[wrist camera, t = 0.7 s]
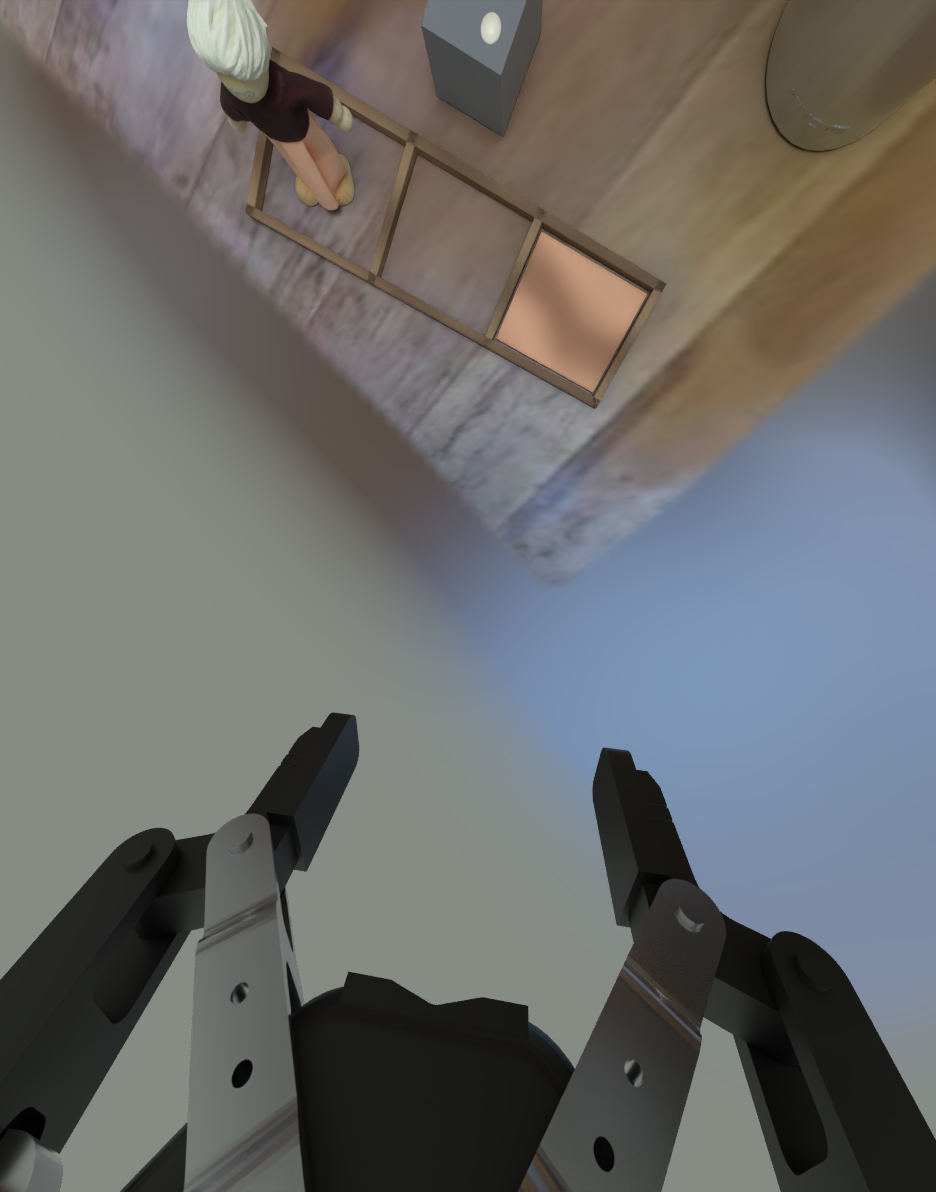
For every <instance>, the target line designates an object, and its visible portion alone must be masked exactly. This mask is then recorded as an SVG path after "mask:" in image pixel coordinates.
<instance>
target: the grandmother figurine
mask: <svg viewBox="0 0 936 1192" xmlns="http://www.w3.org/2000/svg"><path fill="white" fill-rule="evenodd" d="M187 27H188V32H189V37H190V41H191V44H192V46H193V48H194V50H195V52H196V53H197V55H198V57H199V58H200V60H201V61H202V62H203V63H204V64H205V65H206V66H207V67H208V68H210V69H211V70H213V71H214V72H217V74H218V76H219V78H220V79H221V81H222V82H221V94H220V102H221V106H222V108H223V110H224V112H225V113H226V115H227V117H228V120H229V122H230V124H231V126H232V127H233V128H234V129H235V130H236V131H238V132H244V131H245V130H246V127H247V121H251V122H252V123H253V124H254V125H255V126H256V127H257V128H258V129H259V130H261V131H262V132H263V133H265V135H266V136H267V137H268V139H269V140H270V141H271V142H272V143H273V144H274V146H275V147H276V148H277V149H278V151H279V152H280V153H281V155H282V156H283V158H284V159H285V160H286V162H287V163H288V165H289V166H290V168H291V169H292V170H293V172H294V173H295V174H296V175H297V177H296V181H295V189H296V193H297V196H298V198H299V199H300V201H301V202H302V203H304V204H305V205H308V206H315V205H316V204H318V202H319V203H320V204H321V205H322V206H323V207H324V208H325V209H327V210H335V209H337V208H338V206H339V205H348V204H349V203H350V202H351V201H352V200H353V198H354V194H355V188H354V183H353V178H352V174H351V169H350V165H349V162H348V160H347V158H346V157H345V156H343V155H341V154H338V152H337V150H336V148H335V146H334V144H333V143H332V141H331V140H330V139H329V137H328V136H327V134H326V133H325V132H324V131H323V130H322V128H321V127H320V126H319V125H318V123H317V122H316V120H315V119H314V117H313V116H312V114H311V112H313V113H314V114H316V115H318V116H319V117H322V118H324V119H326V120H329V121H330V122H332V123H333V124H336V125H337V126H338V128H339V129H340V130H341V131H342V132H344V133H349V132H351V130H352V127H353V117H352V114H351V112H350V110H349V109H348V108H346V107H345V106H342V105H341V103H340V101H339V100H338V99H337V98H336V97H335V96H334V95H333V93H332V89H331V88H330V87H329V86H327V85H326V84H323V83H321V82H318V81H316V80H313V79H310V78H308V77H306V76H304V75H301V74H298V73H295V72H288V71H286V70H284V69H283V68H281V67H280V66H279V65H278V64H277V63H276V62H274V61H273V60H270V48H269V43H268V39H267V35H266V27H267V24H266V23H265V22H264V20H263V19H262V18H261V16H260V15H259V14H258V12H257V10H256V8H255V6H254V4H253V3H252V1H251V0H189V3H188V11H187ZM310 111H311V112H310Z"/></svg>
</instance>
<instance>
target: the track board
mask: <svg viewBox="0 0 936 1192" xmlns="http://www.w3.org/2000/svg"><path fill="white" fill-rule="evenodd" d="M270 60H273V61H274V62H276V63H277V64H278V65H279V66H280V67H281V68H283V69H284V70H286V71H288V72H295V73H298V74H301V75H304V76H306V77H308V78H310V79H313V80H316V81H318V82H321V83H323V84H326V85H327V86H329V87H330V88H331V89H332V93H333V95H334V96H335V97H336V98H337V99H338V100H339V101H340V103H341V105H342V106H345V107H346V108H348V109H349V110H350V112H351V114H352V115H354V116H355V117H357V118H359V119H360V120H362V121H364V122H365V123H367V124H369V125H370V126H372V127H374V128H375V129H377V130H379V131H380V132H382V133H384V134H385V135H387V136H389V137H390V138H392V139H394V140H396V141H397V142H399V143H401V144H402V145H404V146H405V149H404V153H403V156H402V160H401V163H400V167H399V170H398V174H397V177H396V181H395V184H394V188H393V191H392V195H391V198H390V202H389V205H388V209H387V212H386V216H385V219H384V223H383V227H382V230H381V234H380V237H379V241H378V244H377V248H376V251H375V255H374V258H373V262H372V265H371V269H370V272H369V271H368V270H366V269H364V268H362V267H360V266H359V265H357V264H355V263H353V262H352V261H350V260H348V259H346V258H344V257H343V256H341V255H339V254H337V253H335V252H334V251H332V250H330V249H328V248H326V247H325V246H323V245H321V244H319V243H318V242H316V241H314V240H312V239H310V238H309V237H307V236H305V235H303V234H301V233H300V232H298V231H296V230H294V229H292V228H291V227H289V226H287V225H285V224H284V223H282V222H280V221H278V220H276V219H275V218H273V217H271V216H269V215H267V214H266V213H264V212H262V205H263V199H264V194H265V188H266V182H267V176H268V171H269V165H270V159H271V154H272V148H273V143H272V142H271V141H270V140H269V139H268V137H267V136H266V135H265V133H263V132H262V131H261V130H259V133H258V139H257V145H256V151H255V157H254V164H253V170H252V176H251V182H250V189H249V195H248V201H247V207H246V214H248V215H249V216H250V217H251V218H253V219H254V220H256V221H258V222H260V223H262V224H263V225H265V226H267V227H269V228H271V229H272V230H274V231H276V232H278V233H280V234H281V235H283V236H285V237H287V238H289V239H290V240H292V241H294V242H296V243H298V244H299V245H301V246H303V247H305V248H307V249H308V250H310V251H312V252H314V253H316V254H317V255H319V256H321V257H323V258H325V259H326V260H328V261H330V262H332V263H334V264H335V265H337V266H339V267H341V268H343V269H344V270H346V271H348V272H350V273H352V274H353V275H355V276H357V277H359V278H361V279H362V280H364V281H366V282H368V283H370V284H371V285H373V286H375V287H377V288H379V289H380V290H382V291H384V292H386V293H388V294H389V295H391V296H393V297H395V298H397V299H398V300H400V301H402V302H404V303H406V304H407V305H409V306H411V307H413V308H415V309H416V310H418V311H420V312H422V313H424V314H425V315H427V316H429V317H431V318H433V319H434V320H436V321H438V322H440V323H442V324H443V325H445V326H447V327H449V328H451V329H452V330H454V331H456V332H458V333H460V334H461V335H463V336H465V337H467V338H469V339H470V340H472V341H474V342H476V343H478V344H479V345H481V346H483V347H485V348H487V349H488V350H490V351H492V352H494V353H496V354H497V355H499V356H501V357H503V358H505V359H506V360H508V361H510V362H512V363H514V364H515V365H517V366H519V367H521V368H523V369H524V370H526V371H528V372H530V373H532V374H533V375H535V376H537V377H539V378H541V379H542V380H544V381H546V382H548V383H550V384H551V385H553V386H555V387H557V388H559V389H560V390H562V391H564V392H566V393H568V394H569V395H571V396H573V397H575V398H577V399H578V400H580V401H582V402H584V403H586V404H587V405H589V406H591V407H593V408H596V407H597V405H598V404H599V402H600V400H601V398H602V397H603V395H604V393H605V391H606V390H607V388H608V386H609V384H610V383H611V381H612V379H613V377H614V375H615V374H616V372H617V370H618V368H619V367H620V365H621V363H622V361H623V360H624V358H625V356H626V354H627V353H628V351H629V349H630V347H631V346H632V344H633V342H634V340H635V338H636V337H637V335H638V333H639V331H640V330H641V328H642V326H643V324H644V323H645V321H646V319H647V317H648V316H649V314H650V312H651V310H652V308H653V307H654V305H655V303H656V301H657V300H658V298H659V296H660V294H661V293H662V291H663V289H664V287H665V286H666V283H664V282H663V281H661V280H659V279H658V278H656V277H654V276H653V275H651V274H649V273H648V272H646V271H644V270H643V269H641V268H639V267H638V266H636V265H634V264H633V263H631V262H629V261H628V260H626V259H624V258H623V257H621V256H619V255H618V254H616V253H614V252H613V251H611V250H609V249H608V248H606V247H604V246H603V245H601V244H599V243H598V242H596V241H594V240H593V239H591V238H589V237H588V236H586V235H584V234H583V233H581V232H579V231H578V230H576V229H574V228H573V227H571V226H569V225H568V224H566V223H564V222H563V221H561V220H559V219H558V218H556V217H554V216H553V215H551V214H549V213H548V212H546V211H544V210H543V209H541V208H539V207H538V206H536V205H534V204H533V203H531V202H529V201H528V200H526V199H524V198H523V197H521V196H519V195H518V194H516V193H514V192H513V191H511V190H509V189H508V188H506V187H504V186H503V185H501V184H499V183H498V182H496V181H494V180H493V179H491V178H489V177H488V176H486V175H484V174H483V173H481V172H479V171H478V170H476V169H474V168H473V167H471V166H469V165H468V164H466V163H464V162H463V161H461V160H459V159H458V158H456V157H454V156H453V155H451V154H449V153H448V152H446V151H444V150H443V149H441V148H439V147H438V146H436V145H434V144H433V143H431V142H429V141H428V140H426V139H424V138H423V137H421V136H419V135H418V134H416V133H414V132H413V131H411V130H409V129H408V128H406V127H404V126H403V125H401V124H400V123H398V122H396V121H395V120H393V119H391V118H390V117H388V116H386V115H385V114H383V113H381V112H380V111H378V110H376V109H375V108H373V107H371V106H370V105H368V104H366V103H365V102H363V101H361V100H360V99H358V98H356V97H355V96H353V95H351V94H350V93H348V92H346V91H345V90H343V89H341V88H340V87H338V86H336V85H335V84H333V83H331V82H330V81H328V80H326V79H325V78H323V77H321V76H320V75H318V74H316V73H315V72H313V71H311V70H310V69H308V68H306V67H305V66H303V65H301V64H300V63H298V62H296V61H295V60H293V59H291V58H290V57H288V56H286V55H285V54H283V53H281V52H280V51H278V50H276V49H275V48H273V47H272V52H271V58H270ZM417 154H419V155H421V156H422V157H424V158H426V159H427V160H429V161H431V162H432V163H434V164H436V165H437V166H439V167H441V168H443V169H444V170H446V171H448V172H449V173H451V174H453V175H454V176H456V177H458V178H459V179H461V180H463V181H464V182H466V183H468V184H469V185H471V186H473V187H474V188H476V189H478V190H479V191H481V192H483V193H485V194H486V195H488V196H490V197H491V198H493V199H495V200H496V201H498V202H500V203H501V204H503V205H505V206H506V207H508V208H510V209H511V210H513V211H515V212H516V213H518V214H520V215H521V216H523V217H525V218H527V219H528V220H530V221H532V225H531V227H530V230H529V232H528V234H527V237H526V239H525V242H524V244H523V246H522V249H521V251H520V254H519V256H518V258H517V261H516V263H515V266H514V268H513V270H512V273H511V275H510V278H509V280H508V282H507V285H506V287H505V289H504V292H503V294H502V297H501V299H500V301H499V304H498V306H497V309H496V311H495V313H494V316H493V318H492V321H491V323H490V325H489V328H488V330H487V333H486V335H485V336H484V335H482V334H480V333H479V332H477V331H475V330H473V329H471V328H470V327H468V326H466V325H464V324H463V323H461V322H459V321H457V320H455V319H454V318H452V317H450V316H448V315H446V314H445V313H443V312H441V311H439V310H437V309H436V308H434V307H432V306H430V305H429V304H427V303H425V302H423V301H421V300H420V299H418V298H416V297H414V296H412V295H411V294H409V293H407V292H405V291H403V290H402V289H400V288H398V287H396V286H394V285H393V284H391V283H389V282H387V281H386V280H384V279H382V278H381V274H382V271H383V268H384V264H385V261H386V258H387V254H388V251H389V247H390V244H391V241H392V237H393V234H394V231H395V227H396V224H397V220H398V217H399V214H400V210H401V207H402V204H403V200H404V197H405V194H406V190H407V187H408V183H409V180H410V177H411V173H412V170H413V167H414V163H415V160H416V156H417ZM541 227H542V228H543V229H545V230H547V231H548V232H550V233H552V234H553V235H555V236H557V237H558V238H560V239H562V240H563V241H565V242H567V243H569V244H570V245H572V246H574V247H575V248H577V249H579V250H580V251H582V252H584V253H585V254H587V255H589V256H590V257H592V258H594V259H595V260H597V261H599V262H600V263H602V264H604V265H605V266H607V267H609V268H610V269H612V270H614V271H616V272H617V273H619V274H621V275H622V276H624V277H626V278H627V279H629V280H631V281H632V282H634V283H636V284H637V285H639V286H641V287H642V288H644V289H646V290H647V291H649V292H651V293H650V295H649V296H648V298H647V300H646V302H645V304H644V305H643V307H642V309H641V311H640V313H639V314H638V316H637V318H636V320H635V322H634V323H633V325H632V327H631V329H630V331H629V332H628V334H627V336H626V338H625V340H624V341H623V343H622V345H621V347H620V349H619V350H618V352H617V354H616V356H615V357H614V359H613V361H612V363H611V365H610V366H609V368H608V370H607V372H606V374H605V375H604V377H603V379H602V381H601V383H600V384H599V386H598V388H597V390H596V392H595V393H594V395H593V396H591V395H590V394H588V393H586V392H584V391H582V390H581V389H579V388H577V387H575V386H574V385H572V384H570V383H568V382H566V381H565V380H563V379H561V378H559V377H557V376H556V375H554V374H552V373H550V372H548V371H547V370H545V369H543V368H541V367H539V366H538V365H536V364H534V363H532V362H531V361H529V360H527V359H525V358H523V357H522V356H520V355H518V354H516V353H514V352H513V351H511V350H509V349H507V348H505V347H504V346H502V345H500V344H498V343H497V342H495V341H493V339H494V337H495V334H496V332H497V330H498V327H499V325H500V323H501V320H502V318H503V316H504V313H505V311H506V309H507V306H508V304H509V302H510V299H511V297H512V295H513V292H514V290H515V287H516V285H517V283H518V280H519V278H520V276H521V273H522V271H523V269H524V266H525V264H526V262H527V259H528V257H529V255H530V252H531V250H532V248H533V245H534V243H535V241H536V238H537V236H538V234H539V231H540V229H541ZM646 296H647V294H646V293H644V292H643V291H641V290H639V289H637V288H636V287H634V286H632V285H631V284H629V283H627V282H626V281H624V280H622V279H621V278H619V277H617V276H616V275H614V274H612V273H611V272H609V271H607V270H605V269H604V268H602V267H600V266H599V265H597V264H595V263H594V262H592V261H590V260H589V259H587V258H585V257H584V256H582V255H580V254H579V253H577V252H575V251H574V250H572V249H570V248H568V247H567V246H565V245H563V244H562V243H560V242H558V241H557V240H555V239H553V238H552V237H550V236H548V235H547V234H545V233H543V232H541V235H540V237H539V239H538V242H537V244H536V246H535V249H534V251H533V253H532V256H531V258H530V260H529V263H528V265H527V267H526V270H525V272H524V274H523V277H522V279H521V281H520V284H519V286H518V288H517V291H516V293H515V295H514V298H513V300H512V302H511V305H510V307H509V309H508V312H507V314H506V316H505V319H504V321H503V323H502V326H501V328H500V330H499V333H498V335H497V337H496V339H497V340H499V341H500V342H502V343H504V344H506V345H507V346H509V347H511V348H513V349H515V350H516V351H518V352H520V353H522V354H524V355H525V356H527V357H529V358H531V359H533V360H534V361H536V362H538V363H540V364H541V365H543V366H545V367H547V368H549V369H550V370H552V371H554V372H556V373H558V374H559V375H561V376H563V377H565V378H566V379H568V380H570V381H572V382H574V383H575V384H577V385H579V386H581V387H583V388H584V389H586V390H588V391H590V392H591V393H593V391H594V389H595V388H596V386H597V384H598V382H599V380H600V379H601V377H602V375H603V373H604V371H605V370H606V368H607V366H608V364H609V362H610V361H611V359H612V357H613V355H614V353H615V352H616V350H617V348H618V346H619V344H620V343H621V341H622V339H623V337H624V335H625V334H626V332H627V330H628V328H629V326H630V325H631V323H632V321H633V319H634V317H635V315H636V314H637V312H638V310H639V308H640V306H641V305H642V303H643V301H644V299H645V297H646Z"/></svg>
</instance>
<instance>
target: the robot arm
mask: <svg viewBox="0 0 936 1192" xmlns="http://www.w3.org/2000/svg"><path fill="white" fill-rule="evenodd" d="M935 78H936V0H789V2H788V4H787V6H786V7H785V9H784V11H783V13H782V16H781V19H780V21H779V24H778V26H777V29H776V31H775V34H774V37H773V41H772V45H771V49H770V53H769V58H768V65H767V76H766V88H767V101H768V105H769V109H770V112H771V115H772V119H773V121H774V122H775V124H776V126H777V128H778V129H779V131H780V133H781V134H782V135H783V136H784V137H785V138H787V139H788V140H789V141H790V142H791V143H792V144H794V145H796V146H799V147H801V148H803V149H806V150H815V151H825V150H831V149H837V148H840V147H842V146H845V145H847V144H850V143H852V142H855V141H856V140H858V139H859V138H861V137H862V136H864V135H866V134H867V133H869V132H870V131H872V130H873V129H874V128H876V127H877V126H878V125H879V124H881V123H882V122H883V121H884V120H885V119H887V118H888V117H889V116H890V115H891V114H893V113H894V112H895V111H896V110H897V109H899V108H900V107H901V106H902V105H903V104H905V103H906V102H907V101H908V100H910V99H911V98H912V97H913V96H914V95H916V94H917V93H918V92H919V91H920V90H922V89H923V88H924V87H925V86H926V85H928V84H929V83H930V82H931V81H933V80H934V79H935ZM358 757H359V742H358V732H357V724H356V717H355V716H354V715H349V714H341V713H331V714H330V715H329V716H328V717H327V719H326V720H325V722H324V723H323V725H322V727H321V728H318V727H312V728H310V729H309V730H308V731H307V732H305V733H304V734H303V735H301V736H300V737H299V738H298V739H297V741H296V742H295V743H294V745H293V746H292V748H291V749H290V751H289V754H288V755H286V756H285V758H284V759H283V761H282V762H281V765H280V766H279V767H278V768H277V769H276V771H275V772H274V774H273V775H272V777H271V778H270V780H269V781H268V782H267V784H266V785H265V787H264V788H263V790H262V791H261V793H260V794H259V795H258V797H257V798H256V800H255V801H254V803H253V804H252V806H251V807H250V808H249V810H248V811H247V812H246V813H245V814H244V815H241V816H238V817H236V818H234V819H232V820H230V821H229V822H227V823H226V824H224V825H223V826H222V827H221V828H220V829H219V830H218V831H217V832H216V833H213V834H209V835H203V836H197V837H192V838H186V839H180V840H175V838H174V836H173V834H172V832H171V831H169V830H167V829H164V828H153V829H149V830H145V831H143V832H140V833H138V834H136V835H134V836H132V837H131V838H129V839H127V840H126V841H125V842H123V843H122V844H121V845H120V846H118V847H117V848H116V849H115V850H114V851H113V852H112V853H111V854H110V856H109V857H108V858H107V859H106V860H105V861H104V862H103V863H102V865H101V866H100V867H99V868H98V869H97V870H96V872H95V873H94V874H93V875H92V876H91V877H90V878H89V880H88V881H87V882H86V883H85V884H84V885H83V886H82V888H81V889H80V890H79V891H78V892H77V893H76V894H75V895H74V897H73V898H72V899H71V900H70V901H69V902H68V903H67V905H66V906H65V907H64V908H63V909H62V910H61V911H60V913H59V914H58V915H57V916H56V917H55V918H54V919H53V921H52V922H51V923H50V924H49V925H48V926H47V928H46V929H45V930H44V931H43V932H42V933H41V934H40V935H39V937H38V938H37V939H36V940H35V941H34V942H33V943H32V945H31V946H30V947H29V948H28V949H27V950H26V952H25V953H24V954H23V955H22V956H21V957H20V958H19V959H18V960H17V962H16V963H15V964H14V965H13V966H12V967H11V969H10V970H9V971H8V972H7V973H6V974H5V975H4V976H3V978H2V979H1V980H0V1192H59V1191H60V1188H61V1183H62V1176H63V1166H62V1161H61V1158H60V1156H59V1154H60V1152H61V1150H62V1149H63V1147H64V1145H65V1143H66V1142H67V1140H68V1138H69V1137H70V1135H71V1133H72V1132H73V1130H74V1128H75V1127H76V1125H77V1123H78V1121H79V1120H80V1118H81V1116H82V1115H83V1113H84V1111H85V1110H86V1108H87V1106H88V1104H89V1103H90V1101H91V1100H92V1098H93V1096H94V1094H95V1093H96V1091H97V1089H98V1088H99V1086H100V1084H101V1082H102V1081H103V1079H104V1077H105V1076H106V1074H107V1072H108V1071H109V1069H110V1067H111V1066H112V1064H113V1062H114V1060H115V1059H116V1057H117V1055H118V1054H119V1052H120V1050H121V1049H122V1047H123V1045H124V1044H125V1042H126V1040H127V1038H128V1037H129V1035H130V1033H131V1032H132V1030H133V1028H134V1026H135V1025H136V1023H137V1021H138V1020H139V1018H140V1016H141V1015H142V1013H143V1011H144V1010H145V1008H146V1006H147V1004H148V1003H149V1001H150V999H151V998H152V996H153V994H154V993H155V991H156V989H157V987H158V986H159V984H160V982H161V981H162V979H163V977H164V976H165V974H166V972H167V971H168V969H169V967H170V966H171V964H172V962H173V960H174V959H175V957H176V955H177V954H178V952H179V950H180V949H181V947H182V945H183V943H184V942H185V940H186V938H187V937H188V935H189V933H190V932H191V930H195V929H199V928H204V935H203V939H201V940H199V942H198V944H197V947H196V954H195V970H194V992H193V1016H192V1037H191V1059H190V1080H189V1102H188V1122H187V1123H186V1124H185V1125H184V1126H183V1127H182V1128H181V1129H180V1130H179V1131H178V1132H177V1133H176V1134H175V1135H174V1136H173V1137H172V1138H171V1139H170V1140H169V1142H168V1143H166V1145H164V1147H163V1148H162V1149H161V1150H160V1151H159V1152H158V1153H157V1154H156V1155H155V1156H154V1157H153V1158H152V1159H151V1160H150V1161H149V1162H148V1163H147V1164H146V1165H145V1166H144V1167H143V1168H142V1169H141V1170H140V1171H139V1173H138V1174H136V1175H135V1177H134V1178H133V1179H132V1180H131V1181H130V1182H129V1183H128V1184H127V1185H126V1186H125V1187H124V1188H123V1189H122V1190H121V1191H120V1192H661V1190H662V1187H663V1184H664V1180H665V1176H666V1173H667V1169H668V1165H669V1162H670V1158H671V1155H672V1151H673V1147H674V1144H675V1140H676V1136H677V1132H678V1129H679V1126H680V1122H681V1118H682V1114H683V1111H684V1107H685V1104H686V1100H687V1097H688V1093H689V1089H690V1086H691V1082H692V1078H693V1074H694V1071H695V1067H696V1064H697V1060H698V1056H699V1053H700V1048H701V1042H702V1036H701V1034H700V1027H701V1023H702V1020H703V1017H704V1018H706V1019H708V1020H710V1021H711V1022H713V1023H715V1024H716V1025H718V1026H720V1027H721V1028H723V1029H725V1030H727V1031H728V1032H730V1033H732V1034H733V1036H734V1039H735V1043H736V1046H737V1049H738V1053H739V1056H740V1059H741V1062H742V1066H743V1069H744V1072H745V1075H746V1079H747V1082H748V1085H749V1088H750V1092H751V1095H752V1099H753V1102H754V1105H755V1108H756V1112H757V1115H758V1118H759V1121H760V1125H761V1128H762V1131H763V1134H764V1138H765V1141H766V1145H767V1148H768V1151H769V1154H770V1158H771V1161H772V1164H773V1168H774V1171H775V1174H776V1177H777V1180H778V1184H779V1187H780V1191H781V1192H936V1140H935V1138H934V1136H933V1134H932V1132H931V1130H930V1129H929V1127H928V1125H927V1123H926V1121H925V1119H924V1117H923V1116H922V1114H921V1112H920V1110H919V1108H918V1106H917V1104H916V1103H915V1101H914V1099H913V1097H912V1095H911V1093H910V1092H909V1090H908V1088H907V1086H906V1084H905V1082H904V1080H903V1079H902V1077H901V1075H900V1073H899V1071H898V1069H897V1067H896V1066H895V1064H894V1062H893V1060H892V1058H891V1056H890V1055H889V1053H888V1051H887V1049H886V1047H885V1045H884V1043H883V1042H882V1040H881V1038H880V1036H879V1034H878V1032H877V1031H876V1029H875V1027H874V1025H873V1023H872V1021H871V1019H870V1018H869V1016H868V1014H867V1012H866V1010H865V1008H864V1006H863V1005H862V1003H861V1001H860V999H859V997H858V995H857V994H856V992H855V990H854V988H853V986H852V984H851V982H850V981H849V979H848V977H847V976H846V974H845V973H844V972H843V970H842V969H841V967H840V966H839V965H838V964H837V962H836V961H835V960H834V959H833V958H832V957H831V956H830V955H829V954H828V953H827V952H826V951H825V950H823V949H822V948H821V947H820V946H818V945H817V944H816V943H814V942H813V941H811V940H810V939H808V938H806V937H804V936H802V935H800V934H797V933H794V932H788V931H783V932H779V933H777V934H776V935H774V936H773V938H772V939H770V938H768V937H766V936H764V935H762V934H760V933H758V932H756V931H754V930H752V929H750V928H748V927H746V926H744V925H742V924H739V923H737V922H735V921H734V920H732V919H730V918H729V917H727V916H726V915H724V914H722V912H720V911H719V909H718V908H717V906H716V904H715V903H714V902H713V901H712V899H711V898H710V897H709V896H708V895H707V894H706V893H705V892H703V891H702V890H701V889H700V888H699V886H698V885H697V882H696V880H695V878H694V875H693V873H692V870H691V868H690V865H689V862H688V860H687V857H686V855H685V852H684V849H683V846H682V844H681V841H680V839H679V836H678V833H677V831H676V828H675V825H674V823H672V817H671V815H670V812H669V809H668V808H667V804H666V802H665V799H664V796H663V794H662V791H661V788H660V787H659V785H658V784H657V783H656V782H655V780H654V779H653V778H652V777H651V775H650V774H649V773H648V772H647V771H641V770H636V768H635V765H634V762H633V759H632V756H631V753H630V752H629V751H627V750H619V749H611V748H603V749H602V751H601V754H600V758H599V762H598V766H597V769H596V773H595V777H594V781H593V803H594V808H595V814H596V819H597V824H598V829H599V835H600V840H601V845H602V850H603V855H604V860H605V866H606V871H607V877H608V881H609V887H610V892H611V897H612V903H613V908H614V913H615V918H616V924H617V925H619V926H625V927H630V928H631V932H632V937H633V942H634V944H633V946H632V948H631V950H630V952H629V954H628V957H627V959H626V961H625V963H624V965H623V967H622V969H621V971H620V973H619V976H618V978H617V980H616V982H615V984H614V986H613V988H612V991H611V993H610V995H609V997H608V999H607V1002H606V1003H605V1006H604V1008H603V1010H602V1012H601V1014H600V1016H599V1018H598V1021H597V1023H596V1025H595V1027H594V1029H593V1031H592V1034H591V1036H590V1038H589V1040H588V1042H587V1044H586V1046H585V1049H584V1051H583V1053H582V1055H581V1057H580V1059H579V1062H578V1064H577V1066H576V1068H574V1067H573V1065H572V1064H571V1062H570V1061H569V1059H568V1058H567V1057H566V1055H565V1054H564V1053H563V1052H562V1050H561V1049H560V1048H559V1046H558V1045H557V1044H556V1043H555V1042H554V1041H552V1039H551V1038H550V1037H549V1036H548V1035H547V1034H545V1033H544V1032H543V1031H542V1030H540V1029H539V1028H538V1027H536V1026H535V1025H533V1024H531V1023H530V1022H528V1006H526V1005H521V1004H515V1003H510V1002H505V1001H500V1000H494V999H489V998H484V997H482V998H475V999H470V1000H464V1001H458V1002H453V1003H447V1004H441V1005H433V1004H430V1003H428V1002H427V1001H425V1000H423V999H422V998H420V997H419V996H417V995H415V994H414V993H412V992H410V991H409V990H407V989H405V988H404V987H402V986H400V985H399V984H397V983H395V982H394V981H392V980H389V979H384V978H379V977H373V976H368V975H363V974H358V973H352V972H348V975H347V978H346V981H345V984H344V987H340V988H336V989H333V990H330V991H327V992H325V993H323V994H321V995H319V996H317V997H315V998H313V999H312V1000H310V1001H309V1002H307V1003H306V1004H304V998H303V992H302V986H301V981H300V976H299V971H298V966H297V960H296V953H295V946H294V939H293V932H292V924H291V917H290V910H289V902H288V895H287V887H286V883H287V882H288V879H289V878H290V876H291V874H292V872H293V870H300V871H307V870H308V867H309V865H310V863H311V861H312V859H313V857H314V855H315V853H316V850H317V848H318V846H319V844H320V842H321V840H322V838H323V835H324V833H325V831H326V829H327V827H328V825H329V823H330V821H331V819H332V816H333V814H334V812H335V810H336V808H337V806H338V804H339V802H340V799H341V797H342V795H343V793H344V791H345V789H346V787H347V785H348V782H349V780H350V778H351V776H352V774H353V772H354V770H355V767H356V765H357V761H358Z"/></svg>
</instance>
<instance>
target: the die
mask: <svg viewBox="0 0 936 1192" xmlns="http://www.w3.org/2000/svg"><path fill="white" fill-rule="evenodd" d="M541 14H542V0H428V2H427V6H426V9H425V13H424V17H423V21H422V24H421V27H422V31H423V35H424V40H425V44H426V49H427V53H428V57H429V62H430V66H431V70H432V75H433V79H434V84H435V88H436V92H437V97H439V98H441V99H442V100H444V101H445V102H447V103H449V104H450V105H452V106H454V107H455V108H457V109H459V110H460V111H462V112H463V113H465V114H467V115H468V116H470V117H472V118H473V119H475V120H476V121H478V122H480V123H481V124H483V125H485V126H486V127H488V128H490V129H491V130H493V131H494V132H496V133H498V134H499V135H501V136H503V135H504V133H505V130H506V127H507V124H508V122H509V119H510V116H511V113H512V111H513V108H514V105H515V102H516V100H517V97H518V94H519V91H520V89H521V86H522V83H523V80H524V78H525V75H526V72H527V69H528V67H529V64H530V61H531V58H532V56H533V53H534V50H535V47H536V45H537V42H538V39H539V36H540V29H541Z"/></svg>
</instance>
